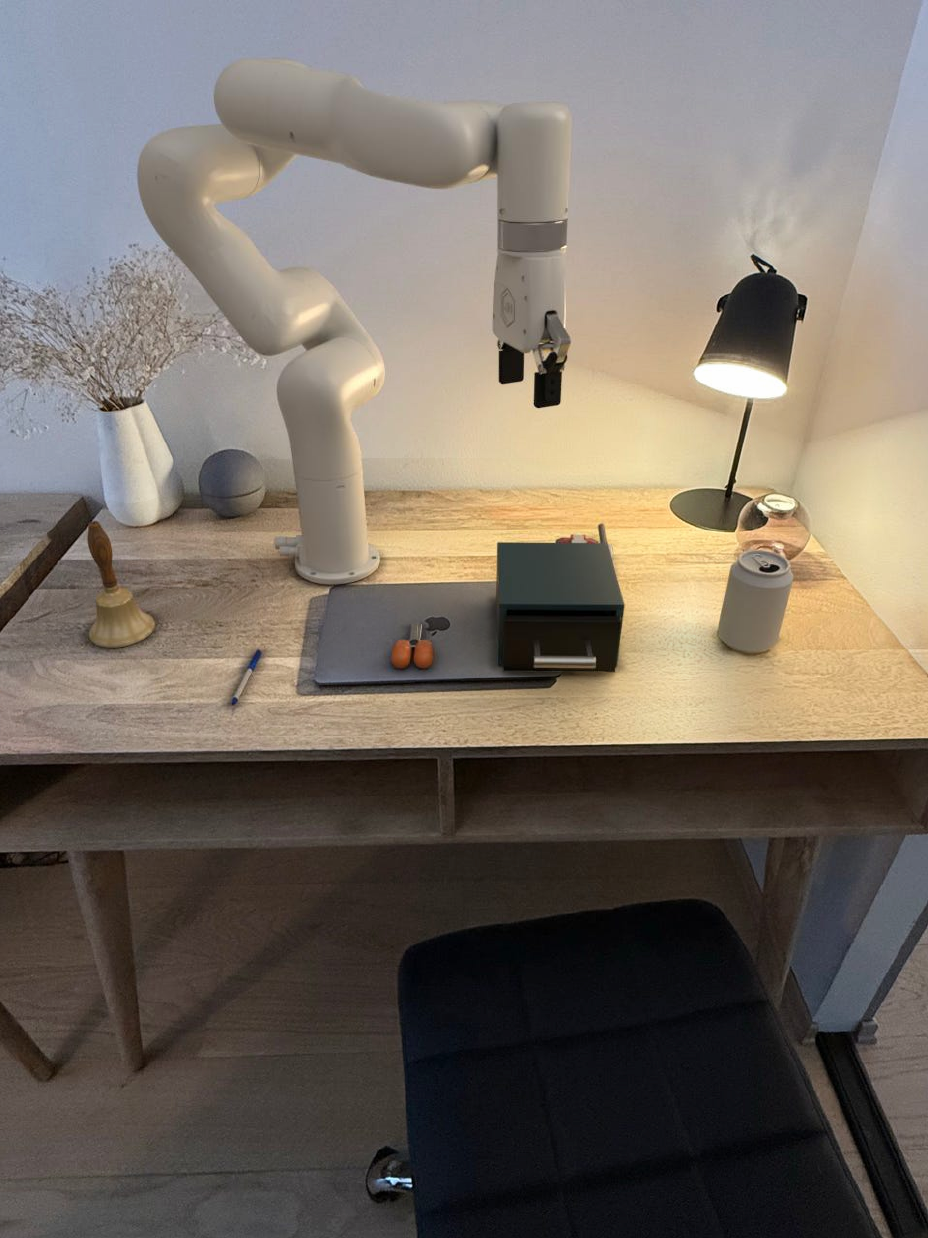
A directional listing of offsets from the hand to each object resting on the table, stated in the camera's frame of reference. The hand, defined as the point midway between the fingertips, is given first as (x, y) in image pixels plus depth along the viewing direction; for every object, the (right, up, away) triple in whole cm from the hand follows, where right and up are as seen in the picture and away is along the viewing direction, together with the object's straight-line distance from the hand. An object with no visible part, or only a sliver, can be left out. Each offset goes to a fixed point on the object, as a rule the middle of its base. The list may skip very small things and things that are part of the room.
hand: (528, 393), depth 98 cm
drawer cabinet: (+4, -29, +11) cm, 31 cm away
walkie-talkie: (+10, -19, +26) cm, 34 cm away
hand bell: (-53, -28, +11) cm, 61 cm away
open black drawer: (+4, -31, +6) cm, 31 cm away
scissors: (-14, -31, +7) cm, 35 cm away
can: (+29, -30, +9) cm, 43 cm away
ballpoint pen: (-34, -34, +3) cm, 48 cm away
